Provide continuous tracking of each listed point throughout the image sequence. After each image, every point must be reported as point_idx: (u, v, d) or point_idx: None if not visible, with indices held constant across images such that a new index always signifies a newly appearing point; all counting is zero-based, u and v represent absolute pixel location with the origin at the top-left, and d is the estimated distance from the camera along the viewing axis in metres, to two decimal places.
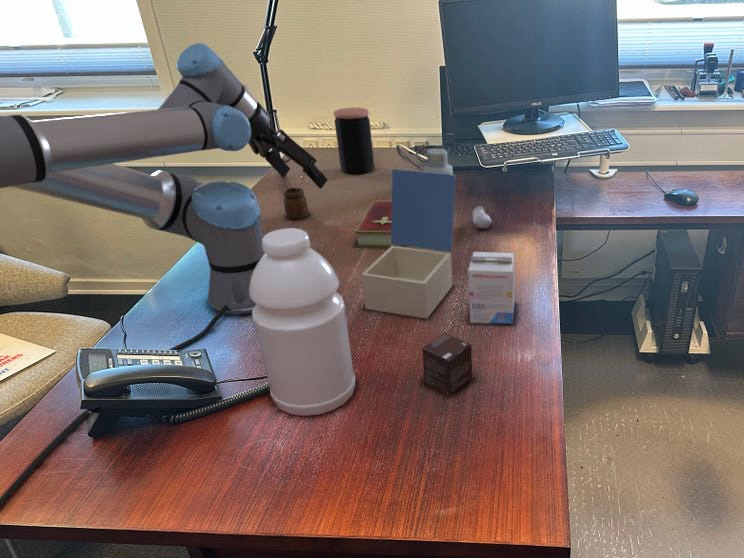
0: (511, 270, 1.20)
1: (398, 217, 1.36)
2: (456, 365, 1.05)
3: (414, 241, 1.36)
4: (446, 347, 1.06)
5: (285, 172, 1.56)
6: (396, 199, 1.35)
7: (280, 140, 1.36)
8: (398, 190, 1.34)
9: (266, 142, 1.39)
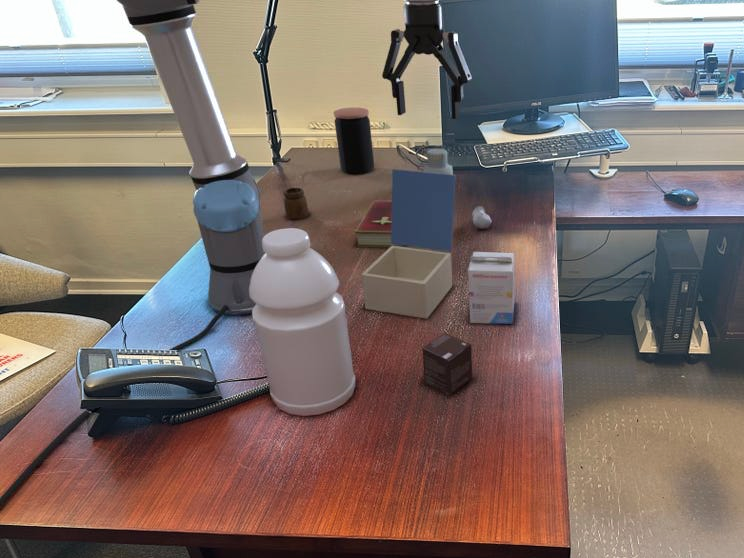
0: (511, 270, 1.20)
1: (398, 217, 1.36)
2: (456, 365, 1.05)
3: (414, 241, 1.36)
4: (446, 347, 1.06)
5: (402, 111, 1.41)
6: (396, 199, 1.35)
7: (454, 38, 1.29)
8: (398, 190, 1.34)
9: (431, 41, 1.30)
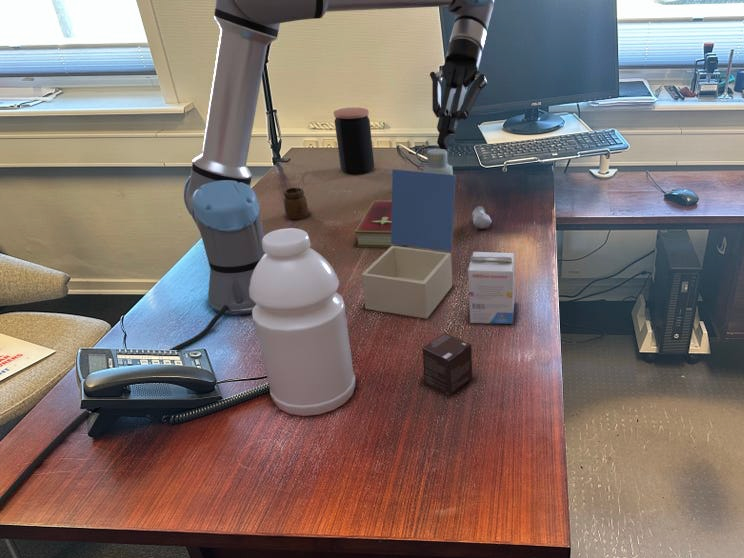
0: (511, 270, 1.20)
1: (398, 217, 1.36)
2: (456, 365, 1.05)
3: (414, 241, 1.36)
4: (446, 347, 1.06)
5: None
6: (396, 199, 1.35)
7: (482, 81, 1.38)
8: (398, 190, 1.34)
9: (464, 72, 1.39)
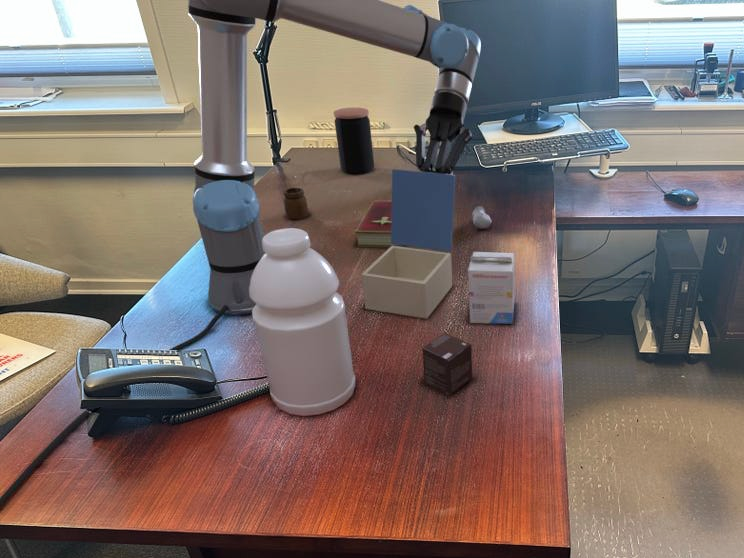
0: (511, 270, 1.20)
1: (398, 217, 1.36)
2: (456, 365, 1.05)
3: (414, 241, 1.36)
4: (446, 347, 1.06)
5: None
6: (396, 199, 1.34)
7: (467, 135, 1.35)
8: (398, 190, 1.34)
9: (449, 126, 1.36)
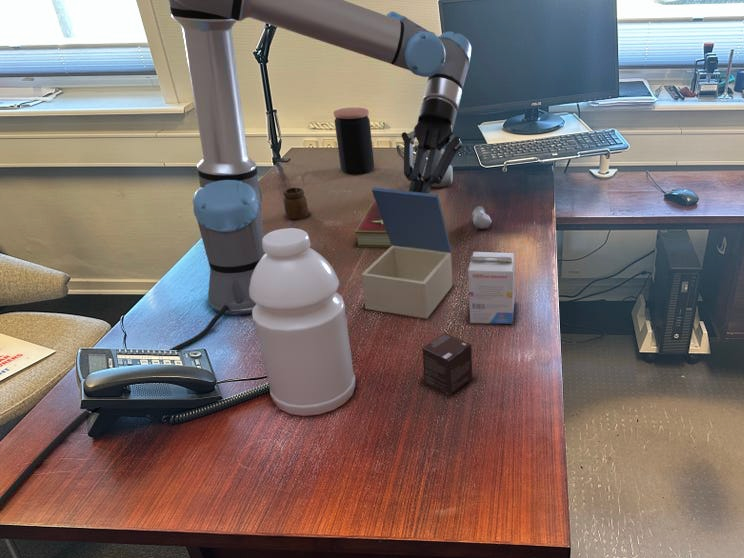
0: (511, 270, 1.20)
1: (391, 226, 1.33)
2: (456, 365, 1.05)
3: (413, 244, 1.36)
4: (446, 347, 1.06)
5: None
6: (384, 213, 1.30)
7: (457, 144, 1.30)
8: (384, 206, 1.29)
9: (438, 134, 1.30)
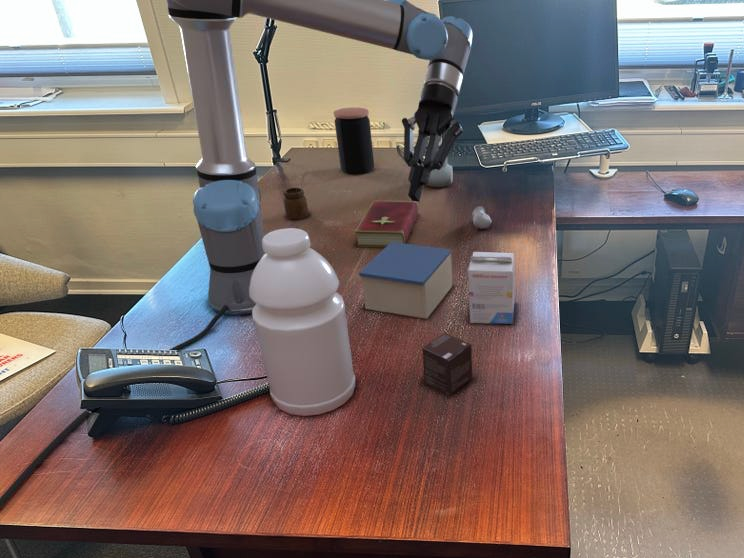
0: (511, 270, 1.20)
1: None
2: (456, 365, 1.05)
3: None
4: (446, 347, 1.06)
5: None
6: None
7: (457, 129, 1.29)
8: None
9: (438, 120, 1.29)
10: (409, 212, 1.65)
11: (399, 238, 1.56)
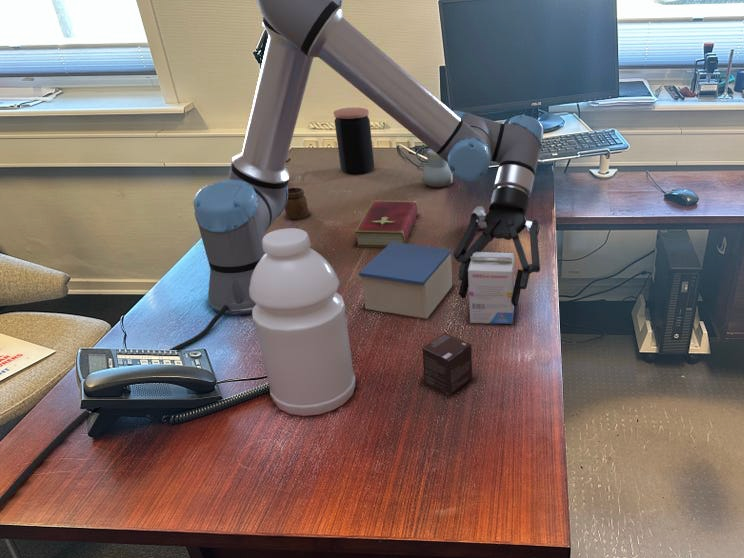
0: (511, 270, 1.20)
1: None
2: (456, 365, 1.05)
3: None
4: (446, 347, 1.06)
5: (464, 293, 1.26)
6: None
7: (537, 226, 1.25)
8: None
9: (513, 223, 1.25)
10: (409, 212, 1.65)
11: (399, 238, 1.56)
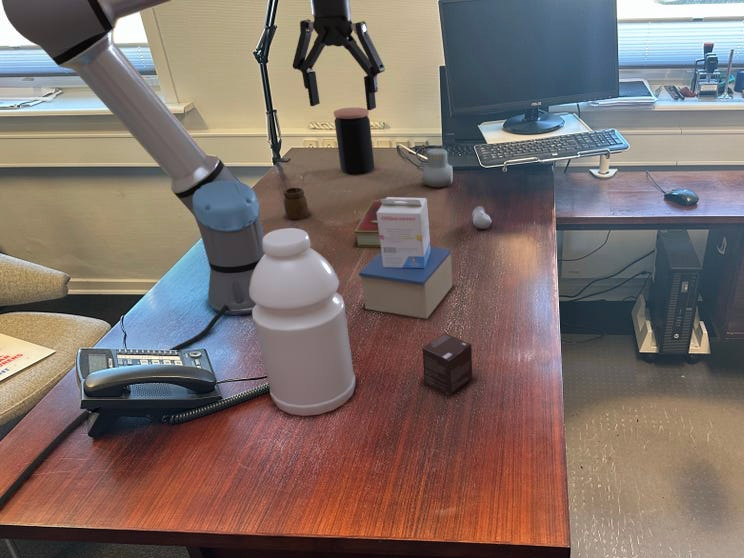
0: (419, 212, 1.21)
1: None
2: (456, 365, 1.05)
3: None
4: (446, 347, 1.06)
5: (315, 102, 1.40)
6: None
7: (362, 28, 1.27)
8: None
9: (339, 32, 1.28)
10: None
11: None
